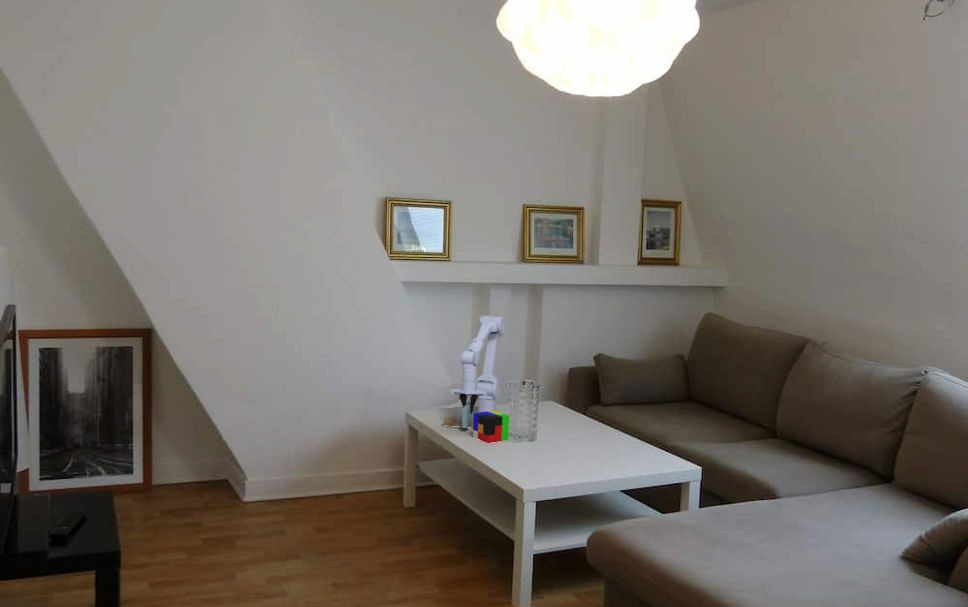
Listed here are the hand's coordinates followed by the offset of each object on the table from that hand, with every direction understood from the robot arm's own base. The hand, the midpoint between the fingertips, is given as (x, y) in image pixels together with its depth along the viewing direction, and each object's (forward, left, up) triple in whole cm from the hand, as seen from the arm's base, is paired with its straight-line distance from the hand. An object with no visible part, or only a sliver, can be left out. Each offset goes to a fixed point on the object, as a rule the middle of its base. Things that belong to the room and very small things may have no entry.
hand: (468, 412), depth 375 cm
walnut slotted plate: (0, 0, -6) cm, 6 cm away
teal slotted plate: (0, 0, -5) cm, 5 cm away
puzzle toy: (+14, +12, -7) cm, 20 cm away
